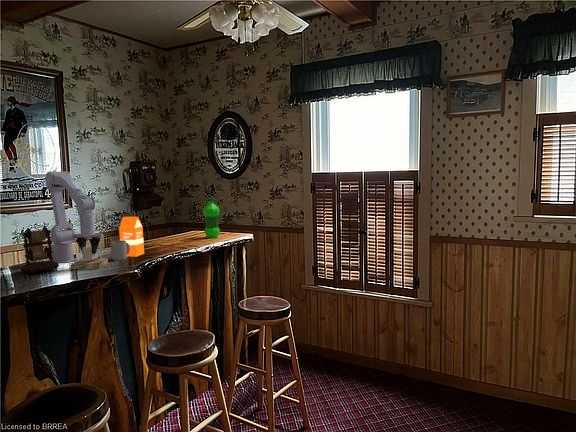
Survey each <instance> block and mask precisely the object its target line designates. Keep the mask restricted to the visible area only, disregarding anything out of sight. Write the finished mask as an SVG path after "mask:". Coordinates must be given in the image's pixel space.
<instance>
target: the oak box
mask: <svg viewBox="0 0 576 432" xmlns="http://www.w3.org/2000/svg"><path fill="white" fill-rule="evenodd" d="M108 261H109V260H108V257H98V258H95V259H92V260H90V259H83V258H81V259H79V260H76V261H75V262H74V263H72V264H71V265H70V266H71V270H72V269H88V270H100V269H101V267H102V268H103V267H104V266H106V265H107V264H108V263H109V262H108Z"/></svg>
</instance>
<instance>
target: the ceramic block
mask: <svg viewBox="0 0 576 432" xmlns="http://www.w3.org/2000/svg"><path fill="white" fill-rule="evenodd" d="M82 251H83V254H82V259H90V260H92V259H95V258H99V254H98V251H97V252H96V254H92V247H91V245H86V247H83V248H82ZM82 251H81V252H82Z"/></svg>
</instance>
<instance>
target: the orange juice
mask: <svg viewBox="0 0 576 432" xmlns="http://www.w3.org/2000/svg"><path fill="white" fill-rule="evenodd" d="M143 230H144V229H143V225H142V223H141V220H140V219H139V216H122V219H121V221H120V225H119V228H118V231H119V240H125V241H126V242H127V243H128V244H129V245H130V252H129V254H128V255H127V257H139V256H141V255H145V247H144V244H145V243H144V242H145V241H144V231H143ZM126 249H127V247H126Z"/></svg>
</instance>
